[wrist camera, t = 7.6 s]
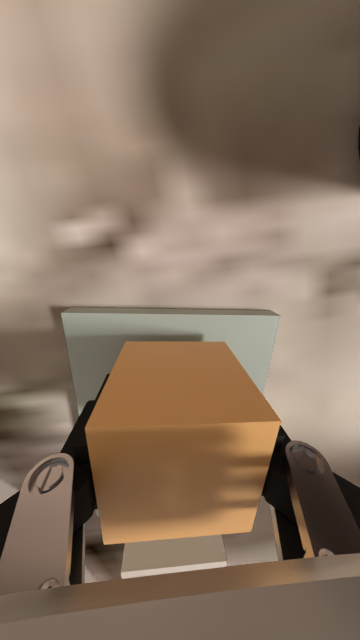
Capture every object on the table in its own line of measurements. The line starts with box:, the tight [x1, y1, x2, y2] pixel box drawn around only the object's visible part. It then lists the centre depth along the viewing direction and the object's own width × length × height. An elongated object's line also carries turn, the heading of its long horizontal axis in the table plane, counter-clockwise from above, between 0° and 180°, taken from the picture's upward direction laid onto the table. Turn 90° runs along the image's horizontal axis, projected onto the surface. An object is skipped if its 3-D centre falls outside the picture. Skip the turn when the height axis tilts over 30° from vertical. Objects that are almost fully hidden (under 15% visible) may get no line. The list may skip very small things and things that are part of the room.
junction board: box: [61, 307, 280, 579], centre depth 12 cm, size 13×19×7 cm
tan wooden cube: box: [85, 341, 281, 545], centre depth 9 cm, size 6×6×6 cm
